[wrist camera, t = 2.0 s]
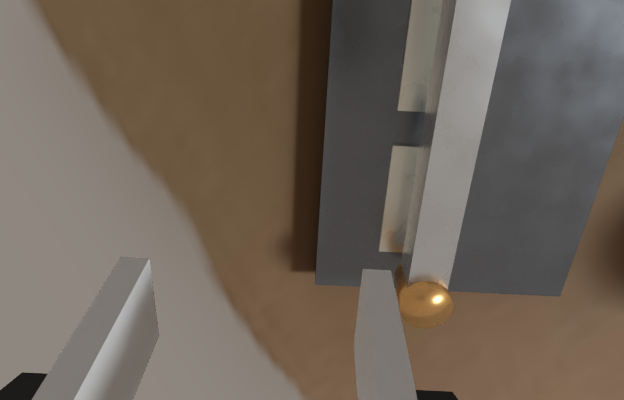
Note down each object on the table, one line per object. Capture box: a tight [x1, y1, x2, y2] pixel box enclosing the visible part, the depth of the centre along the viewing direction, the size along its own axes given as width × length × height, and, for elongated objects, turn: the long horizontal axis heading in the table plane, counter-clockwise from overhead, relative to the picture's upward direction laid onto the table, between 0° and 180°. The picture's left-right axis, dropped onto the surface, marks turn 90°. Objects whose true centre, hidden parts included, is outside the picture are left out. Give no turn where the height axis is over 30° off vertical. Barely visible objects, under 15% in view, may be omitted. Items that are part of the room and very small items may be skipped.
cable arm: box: [394, 0, 511, 328], centre depth 24 cm, size 21×3×3 cm, turn 177°
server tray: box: [315, 0, 624, 296], centre depth 27 cm, size 22×16×3 cm
